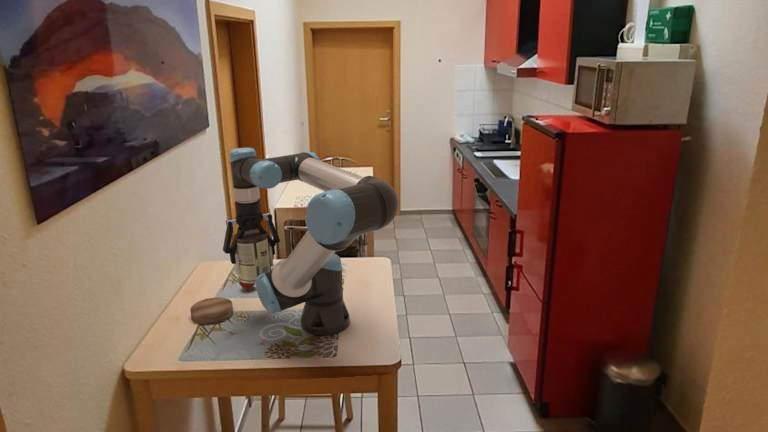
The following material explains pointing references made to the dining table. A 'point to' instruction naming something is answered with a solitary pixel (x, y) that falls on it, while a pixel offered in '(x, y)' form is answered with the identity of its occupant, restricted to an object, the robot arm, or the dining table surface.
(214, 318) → the pedestal
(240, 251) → the coffee can
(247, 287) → the red bumpy fruit
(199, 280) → the dining table surface
